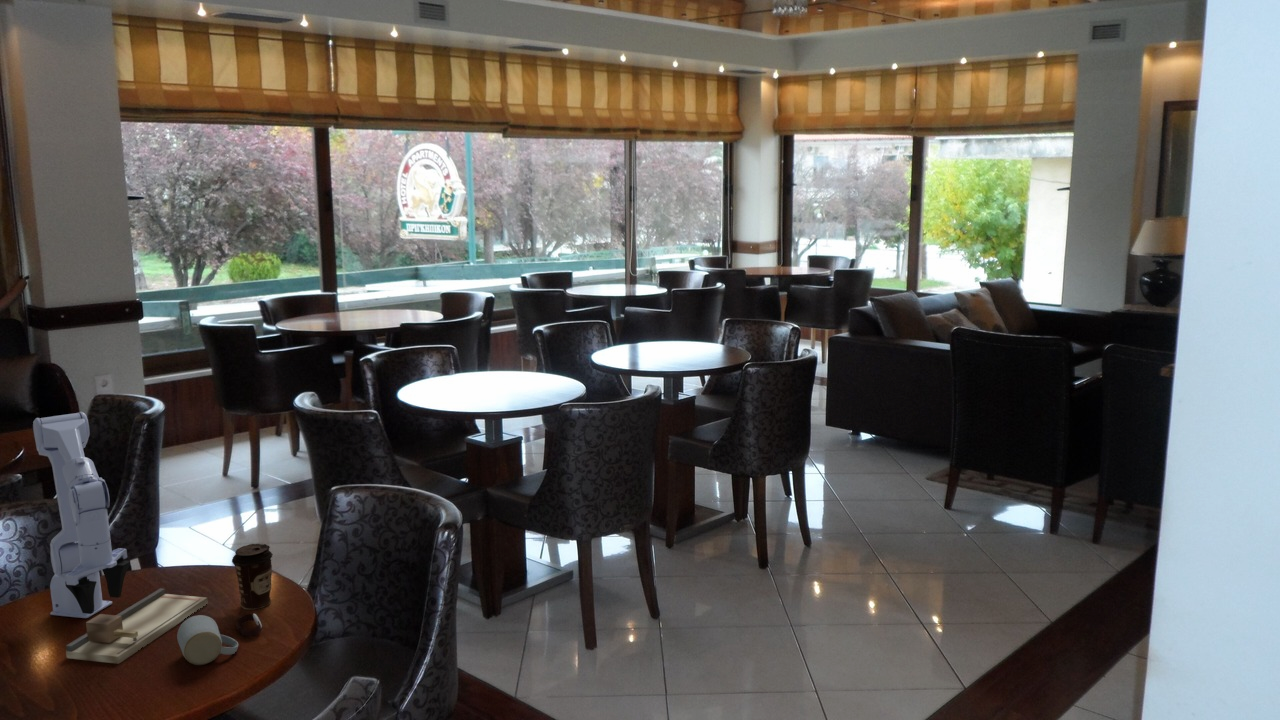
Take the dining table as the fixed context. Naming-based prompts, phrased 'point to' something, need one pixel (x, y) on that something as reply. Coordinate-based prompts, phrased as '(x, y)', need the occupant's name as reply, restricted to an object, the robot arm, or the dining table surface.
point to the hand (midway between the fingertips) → (102, 604)
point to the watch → (249, 618)
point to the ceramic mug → (203, 640)
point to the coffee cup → (254, 575)
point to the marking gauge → (107, 629)
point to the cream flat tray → (138, 627)
